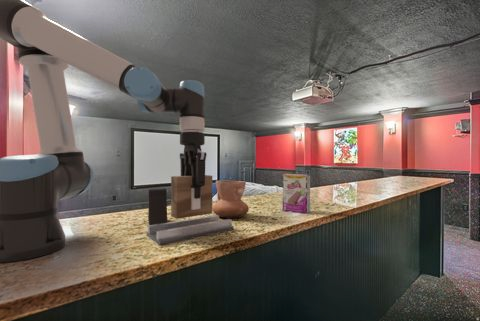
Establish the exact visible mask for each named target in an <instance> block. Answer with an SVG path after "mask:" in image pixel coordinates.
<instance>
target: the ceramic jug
mask: <svg viewBox="0 0 480 321" xmlns="http://www.w3.org/2000/svg"><path fill="white" fill-rule="evenodd" d="M246 184H247V183H246V181H245V180H244V181H241V180H230V179H229V180H226V179H225V180H224V179H223V180H216V181H215V185H216V190H217V193H216V195H217V196H216V197H217V202H216V203H214V204H213V205H212V213H214V214H215V215H219V218H220V217H221V218H226V219H233V218H234V219H235V218H236V219H237V218H240V217H243V216H245V215H247V213H249V205H248V204H247V203H246V202H244V201H243V200H242V197H243V194H244V193H245V188H246Z"/></svg>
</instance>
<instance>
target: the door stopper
mask: <svg viewBox="0 0 480 321" xmlns="http://www.w3.org/2000/svg"><path fill="white" fill-rule="evenodd" d="M167 195H168V194H167V188H149V189H148V205H147V206H148V208H147V209H148V213H147V216H148V217H147V218H148V219H147V221H148V225H155V224H161V223H168V206H167V205H168V202H167V201H168V200H167V198H168V197H167Z"/></svg>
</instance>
